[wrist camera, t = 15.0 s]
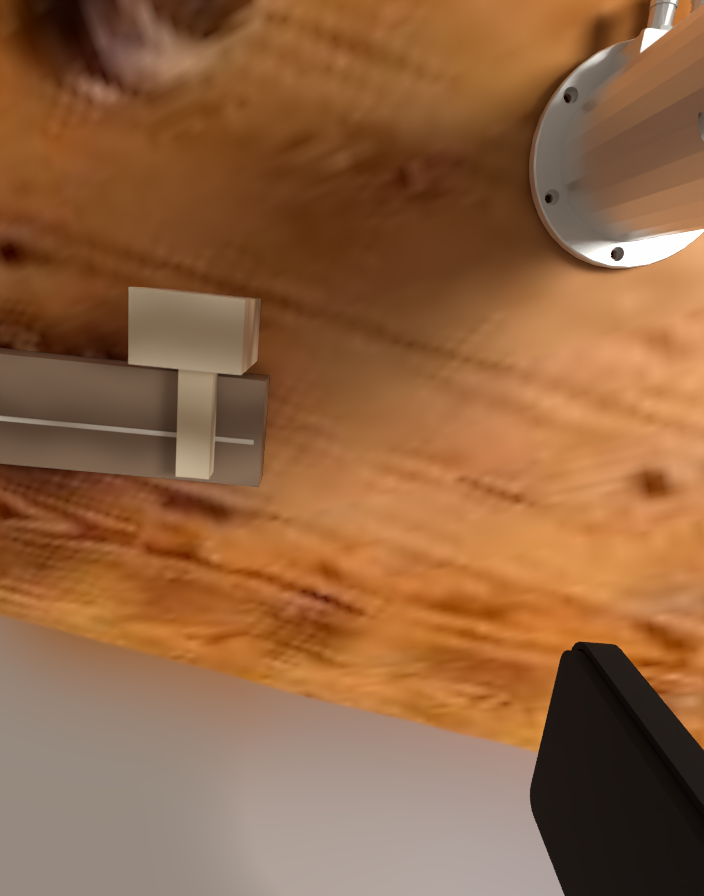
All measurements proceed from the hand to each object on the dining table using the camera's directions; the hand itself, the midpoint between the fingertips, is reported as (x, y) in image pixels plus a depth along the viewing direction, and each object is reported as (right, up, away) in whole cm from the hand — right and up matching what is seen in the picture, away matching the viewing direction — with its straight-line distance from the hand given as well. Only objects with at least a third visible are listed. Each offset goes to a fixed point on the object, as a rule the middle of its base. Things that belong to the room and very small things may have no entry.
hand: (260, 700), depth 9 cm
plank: (-16, +6, +29) cm, 34 cm away
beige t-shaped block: (-8, +9, +29) cm, 31 cm away
